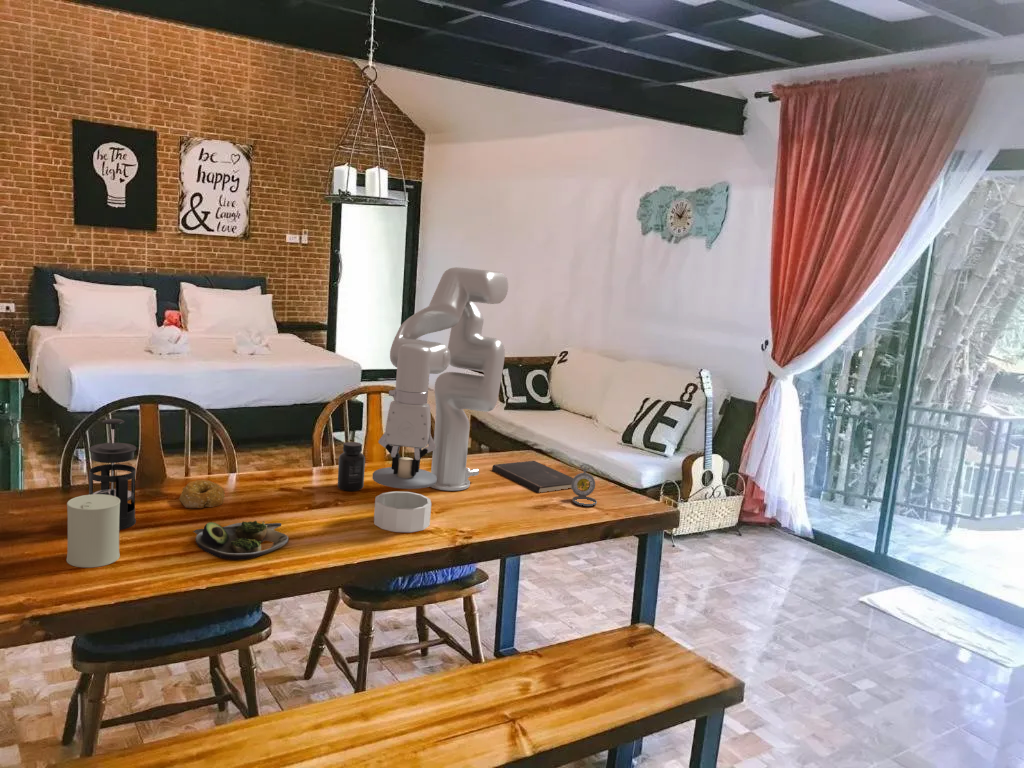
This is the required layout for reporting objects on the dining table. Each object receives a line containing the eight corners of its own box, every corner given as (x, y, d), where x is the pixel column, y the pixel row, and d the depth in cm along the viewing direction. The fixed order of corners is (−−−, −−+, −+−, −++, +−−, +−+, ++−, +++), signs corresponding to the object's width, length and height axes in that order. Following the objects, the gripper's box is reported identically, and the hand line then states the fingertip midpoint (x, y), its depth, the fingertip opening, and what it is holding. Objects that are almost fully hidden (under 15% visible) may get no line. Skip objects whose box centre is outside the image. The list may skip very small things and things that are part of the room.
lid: (411, 467, 202) (413, 448, 201) (449, 483, 191) (451, 464, 190) (360, 474, 192) (361, 454, 191) (396, 492, 181) (398, 471, 180)
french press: (80, 519, 176) (80, 416, 172) (125, 512, 183) (127, 412, 179) (99, 536, 168) (100, 428, 164) (145, 528, 175) (147, 424, 171)
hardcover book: (533, 467, 255) (534, 460, 254) (581, 489, 237) (582, 481, 236) (491, 472, 245) (492, 464, 245) (538, 495, 227) (539, 487, 227)
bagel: (169, 506, 190) (170, 486, 189) (196, 493, 200) (197, 475, 200) (207, 513, 188) (208, 493, 187) (233, 500, 198) (234, 481, 198)
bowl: (409, 510, 203) (411, 488, 202) (439, 526, 193) (441, 504, 192) (363, 517, 194) (365, 495, 193) (393, 535, 185) (394, 512, 184)
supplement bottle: (366, 485, 219) (369, 442, 217) (359, 493, 212) (362, 448, 210) (341, 482, 219) (344, 439, 217) (333, 489, 213) (336, 445, 210)
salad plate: (257, 521, 186) (258, 502, 186) (309, 543, 176) (310, 523, 176) (180, 541, 171) (181, 520, 170) (232, 567, 161) (233, 545, 160)
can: (57, 566, 153) (57, 505, 151) (78, 547, 162) (78, 490, 160) (109, 569, 154) (109, 508, 152) (127, 550, 163) (127, 493, 161)
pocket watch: (584, 508, 217) (588, 472, 215) (562, 499, 223) (566, 464, 222) (605, 504, 223) (609, 469, 221) (583, 495, 229) (587, 461, 227)
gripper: (372, 396, 185) (366, 473, 188) (443, 404, 184) (437, 482, 187) (379, 390, 193) (374, 465, 196) (449, 398, 192) (442, 473, 195)
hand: (405, 473), depth 191 cm, fingers closed on lid, 3 cm apart
